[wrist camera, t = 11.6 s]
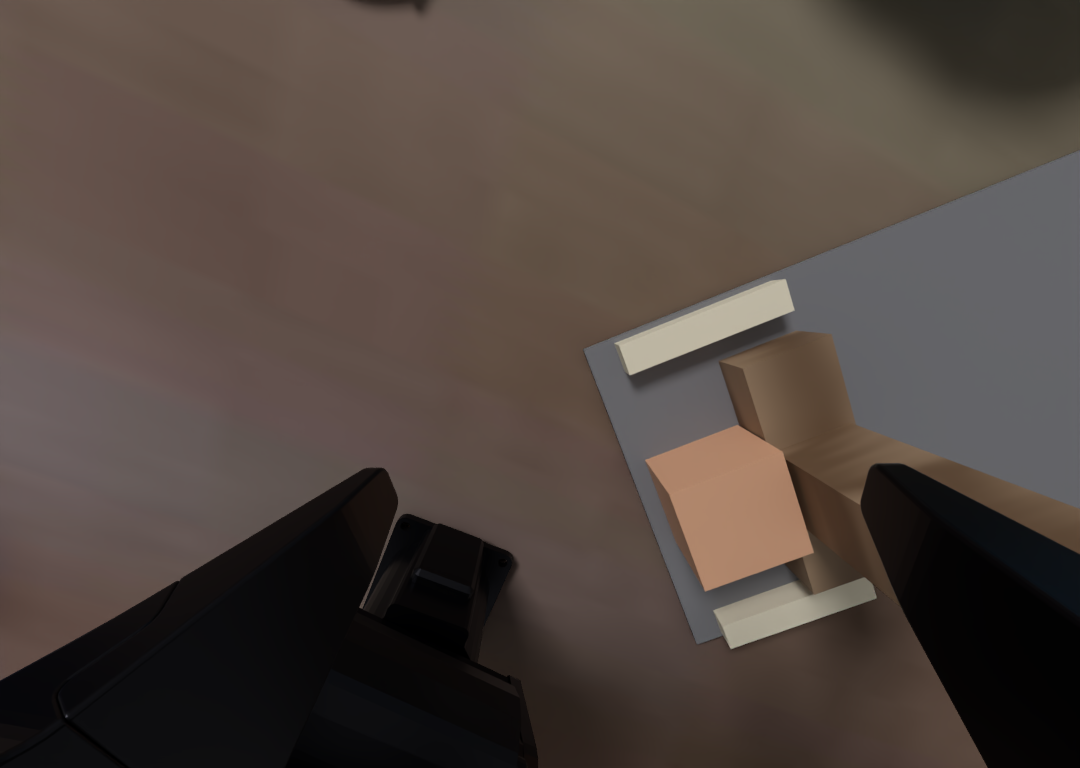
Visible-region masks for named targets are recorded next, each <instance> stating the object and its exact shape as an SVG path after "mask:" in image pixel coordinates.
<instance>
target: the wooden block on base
mask: <svg viewBox="0 0 1080 768" xmlns="http://www.w3.org/2000/svg"><path fill="white" fill-rule="evenodd" d="M719 365H720V368H721V371H722V374H723V377H724V380H725V383H726V386H727V389H728V392H729V395H730V398H731V401H732V404H733V407H734V411H735V414H736V417H737V420H738V423H739V426H740V427H742V428H744V429H745V430H747V431H749V432H750V433H752V434H754V435H755V436H757V437H759V438H760V439H762V440H764V441H765V442H767V443H769V444H771V445H772V446H774V447H776V448H777V449H779V450H781V451H782V452H783V454H784V458H785V461H786V464H787V467H788V471H789V474H790V477H791V480H792V483H793V487H794V490H795V493H796V496H797V500H798V503H799V506H800V509H801V513H802V516H803V519H804V522H805V525H806V529H807V532H808V535H809V538H810V542H811V545H812V548H813V551H814V553H812V554H809V555H806V556H803V557H801V558H798V559H795V560H792V561H789V562H787V563H784V564H785V565H786V566H787V567H788V568H789V569H790V570H791V571H792V572H793V573H794V574H795V575H796V576H797V577H798V578H799V580H800V581H801V582H802V583H803V584H804V585H805V586H806V587H807V588H808V589H809V590H810V591H811V592H812V593H813V594H814V595H815V594H818V593H821V592H824V591H827V590H829V589H832V588H835V587H838V586H841V585H844V584H847V583H849V582H852V581H855V580H858V579H861V578H864V577H865V578H866V579H867V580H869V581H870V582H871V583H872V584H873V585H875V586H876V587H877V588H878V589H879V590H881V591H882V592H883V593H884V594H885V595H887V596H888V597H889V598H890V599H891V600H893V601H894V602H895V603H896V604H897V605H899V606H900V604H899V602H898V600H897V598H896V595H895V593H894V591H893V589H892V586H891V584H890V581H889V579H888V577H887V574H886V572H885V569H884V567H883V564H882V562H881V559H880V557H879V555H878V552H877V550H876V547H875V545H874V542H873V540H872V537H871V535H870V533H869V530H868V528H867V525H866V523H865V520H864V518H863V515H862V512H861V507H860V501H861V496H862V492H863V489H864V485H865V481H866V477H867V473H868V470H869V468H870V467H871V466H872V465H873V464H876V463H902V464H905V465H907V466H909V467H911V468H913V469H915V470H917V471H919V472H921V473H923V474H925V475H927V476H929V477H931V478H933V479H935V480H936V481H938V482H940V483H942V484H944V485H946V486H948V487H950V488H952V489H954V490H956V491H958V492H960V493H962V494H964V495H966V496H968V497H970V498H972V499H974V500H975V501H977V502H979V503H981V504H983V505H985V506H987V507H989V508H991V509H993V510H995V511H997V512H999V513H1001V514H1003V515H1005V516H1007V517H1009V518H1011V519H1013V520H1014V521H1016V522H1018V523H1020V524H1022V525H1024V526H1026V527H1028V528H1030V529H1032V530H1034V531H1036V532H1038V533H1040V534H1042V535H1044V536H1046V537H1048V538H1050V539H1052V540H1053V541H1055V542H1057V543H1059V544H1061V545H1063V546H1065V547H1067V548H1069V549H1071V550H1073V551H1075V552H1077V553H1079V554H1080V509H1079V508H1076V507H1073V506H1071V505H1068V504H1065V503H1063V502H1060V501H1057V500H1055V499H1052V498H1049V497H1047V496H1044V495H1041V494H1039V493H1036V492H1033V491H1031V490H1028V489H1025V488H1023V487H1020V486H1017V485H1015V484H1012V483H1009V482H1007V481H1004V480H1001V479H999V478H996V477H993V476H991V475H988V474H986V473H983V472H980V471H978V470H975V469H972V468H970V467H967V466H964V465H962V464H959V463H956V462H954V461H951V460H948V459H946V458H943V457H940V456H938V455H935V454H932V453H930V452H927V451H924V450H922V449H919V448H916V447H914V446H911V445H908V444H906V443H903V442H900V441H898V440H895V439H892V438H890V437H887V436H884V435H882V434H879V433H876V432H874V431H871V430H868V429H866V428H863V427H860V426H858V425H856V422H855V419H854V415H853V411H852V408H851V404H850V400H849V397H848V393H847V389H846V386H845V382H844V378H843V375H842V371H841V367H840V364H839V360H838V356H837V352H836V349H835V345H834V341H833V338H832V334H826V333H816V332H806V331H794V332H791V333H789V334H786V335H784V336H781V337H779V338H776V339H773V340H771V341H768V342H766V343H763V344H761V345H758V346H756V347H753V348H750V349H748V350H745V351H743V352H740V353H738V354H735V355H733V356H730V357H727V358H725V359H722V360H720V361H719ZM900 607H901V606H900Z"/></svg>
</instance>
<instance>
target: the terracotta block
mask: <svg viewBox="0 0 1080 768" xmlns="http://www.w3.org/2000/svg"><path fill="white" fill-rule="evenodd" d="M645 461H646V464H647V467H648V469H649V472H650V475H651V477H652V480H653V483H654V485H655V488H656V491H657V493H658V496H659V499H660V501H661V504H662V507H663V509H664V512H665V515H666V517H667V520H668V523H669V525H670V528H671V531H672V533H673V536H674V539H675V541H676V543H677V545H678V547H679V548H680V550H681V552H682V553H683V555H684V557H685V558H686V560H687V562H688V563H689V565H690V567H691V569H692V570H693V572H694V574H695V575H696V577H697V579H698V580H699V582H700V584H701V585H702V587H703V589H704V591H705V592H706V591H708V590H711V589H714V588H717V587H720V586H722V585H725V584H728V583H731V582H734V581H736V580H739V579H742V578H745V577H748V576H750V575H753V574H756V573H759V572H762V571H764V570H767V569H770V568H773V567H775V566H778V565H781V564H784V563H787V562H789V561H792V560H795V559H798V558H801V557H803V556H806V555H809V554H812V553H814V551H813V548H812V545H811V542H810V538H809V535H808V532H807V529H806V525H805V522H804V519H803V516H802V513H801V509H800V506H799V503H798V500H797V496H796V493H795V490H794V487H793V483H792V480H791V477H790V474H789V471H788V467H787V464H786V461H785V458H784V454H783V452H782V451H781V450H779V449H777V448H776V447H774V446H772V445H771V444H769V443H767V442H765V441H764V440H762V439H760V438H759V437H757V436H755V435H754V434H752V433H750V432H749V431H747V430H745V429H744V428H742V427H740V426H739V425H736V426H733V427H730V428H728V429H725V430H723V431H720V432H717V433H715V434H712V435H709V436H707V437H704V438H702V439H699V440H696V441H694V442H691V443H688V444H686V445H683V446H681V447H678V448H675V449H673V450H670V451H667V452H665V453H662V454H660V455H657V456H654V457H652V458H649V459H646V460H645Z"/></svg>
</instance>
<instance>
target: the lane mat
mask: <svg viewBox="0 0 1080 768" xmlns="http://www.w3.org/2000/svg"><path fill="white" fill-rule="evenodd" d="M794 331H806V332H816V333H826V334H832V338H833V341H834V345H835V349H836V352H837V356H838V360H839V364H840V367H841V371H842V375H843V378H844V382H845V386H846V389H847V393H848V397H849V400H850V404H851V408H852V411H853V415H854V419H855V422H856V425H858V426H860V427H863V428H866V429H868V430H871V431H874V432H876V433H879V434H882V435H884V436H887V437H890V438H892V439H895V440H898V441H900V442H903V443H906V444H908V445H911V446H914V447H916V448H919V449H922V450H924V451H927V452H930V453H932V454H935V455H938V456H940V457H943V458H946V459H948V460H951V461H954V462H956V463H959V464H962V465H964V466H967V467H970V468H972V469H975V470H978V471H980V472H983V473H986V474H988V475H991V476H993V477H996V478H999V479H1001V480H1004V481H1007V482H1009V483H1012V484H1015V485H1017V486H1020V487H1023V488H1025V489H1028V490H1031V491H1033V492H1036V493H1039V494H1041V495H1044V496H1047V497H1049V498H1052V499H1055V500H1057V501H1060V502H1063V503H1065V504H1068V505H1071V506H1073V507H1076V508H1079V509H1080V150H1078V151H1076V152H1073V153H1071V154H1068V155H1066V156H1063V157H1061V158H1058V159H1056V160H1053V161H1051V162H1048V163H1046V164H1044V165H1041V166H1039V167H1036V168H1034V169H1031V170H1029V171H1026V172H1024V173H1021V174H1019V175H1016V176H1014V177H1011V178H1009V179H1006V180H1004V181H1001V182H999V183H996V184H994V185H991V186H989V187H986V188H984V189H981V190H979V191H976V192H974V193H971V194H969V195H966V196H964V197H961V198H959V199H956V200H954V201H951V202H949V203H946V204H944V205H941V206H939V207H936V208H934V209H931V210H929V211H926V212H924V213H921V214H919V215H916V216H914V217H911V218H909V219H906V220H904V221H901V222H899V223H896V224H894V225H891V226H889V227H886V228H884V229H881V230H879V231H877V232H874V233H872V234H869V235H867V236H864V237H862V238H859V239H857V240H854V241H852V242H849V243H847V244H844V245H842V246H839V247H837V248H834V249H832V250H829V251H827V252H824V253H822V254H819V255H817V256H814V257H812V258H809V259H807V260H804V261H802V262H799V263H797V264H794V265H792V266H789V267H787V268H784V269H782V270H779V271H777V272H774V273H772V274H769V275H767V276H764V277H762V278H759V279H757V280H754V281H752V282H749V283H747V284H744V285H742V286H739V287H737V288H734V289H732V290H729V291H727V292H724V293H722V294H719V295H717V296H714V297H712V298H709V299H707V300H705V301H702V302H700V303H697V304H695V305H692V306H690V307H687V308H685V309H682V310H680V311H677V312H675V313H672V314H670V315H667V316H665V317H662V318H660V319H657V320H655V321H652V322H650V323H647V324H645V325H642V326H640V327H637V328H635V329H632V330H630V331H627V332H625V333H622V334H620V335H617V336H615V337H612V338H610V339H607V340H605V341H602V342H600V343H597V344H595V345H592V346H590V347H587V348H585V349H583V351H584V353H585V356H586V359H587V361H588V364H589V366H590V369H591V372H592V374H593V377H594V379H595V382H596V385H597V387H598V390H599V392H600V395H601V398H602V400H603V403H604V405H605V408H606V410H607V413H608V416H609V418H610V421H611V423H612V426H613V429H614V431H615V434H616V436H617V439H618V442H619V444H620V447H621V449H622V452H623V455H624V457H625V460H626V462H627V465H628V468H629V470H630V473H631V475H632V478H633V481H634V483H635V486H636V488H637V491H638V494H639V496H640V499H641V501H642V504H643V507H644V509H645V512H646V514H647V517H648V520H649V522H650V525H651V527H652V530H653V533H654V535H655V538H656V540H657V543H658V545H659V548H660V551H661V553H662V556H663V558H664V561H665V564H666V566H667V569H668V571H669V574H670V577H671V579H672V582H673V584H674V587H675V590H676V592H677V595H678V597H679V600H680V603H681V605H682V608H683V610H684V613H685V616H686V618H687V621H688V623H689V626H690V629H691V631H692V634H693V636H694V639H695V641H696V643H697V644H700V643H703V642H706V641H709V640H711V639H714V638H717V637H720V636H724V638H725V640H726V642H727V643H728V645H729V647H730V649H733V648H736V647H739V646H741V645H744V644H747V643H750V642H753V641H756V640H759V639H761V638H764V637H767V636H770V635H773V634H776V633H779V632H782V631H784V630H787V629H790V628H793V627H796V626H799V625H802V624H805V623H807V622H810V621H813V620H816V619H819V618H822V617H825V616H828V615H830V614H833V613H836V612H839V611H842V610H845V609H848V608H851V607H853V606H856V605H859V604H862V603H865V602H868V601H871V600H874V599H876V598H877V597H876V594H875V590H874V587H873V584H872V583H871V582H870V581H869V580H867V579H866V578H865V577H864V578H861V579H858V580H855V581H852V582H849V583H847V584H844V585H841V586H838V587H835V588H832V589H829V590H827V591H824V592H821V593H818V594H815V595H814V594H813V593H812V592H811V591H810V590H809V589H808V588H807V587H806V586H805V585H804V584H803V583H802V582H801V581H800V580H799V578H798V577H797V576H796V575H795V574H794V573H793V572H792V571H791V570H790V569H789V568H788V567H787V566H786V565H785V564H781V565H778V566H775V567H773V568H770V569H767V570H764V571H762V572H759V573H756V574H753V575H750V576H748V577H745V578H742V579H739V580H736V581H734V582H731V583H728V584H725V585H722V586H720V587H717V588H714V589H711V590H708V591H706V592H705V591H704V589H703V587H702V585H701V584H700V582H699V580H698V579H697V577H696V575H695V574H694V572H693V570H692V569H691V567H690V565H689V563H688V562H687V560H686V558H685V557H684V555H683V553H682V552H681V550H680V548H679V547H678V545H677V543H676V541H675V539H674V536H673V533H672V531H671V528H670V525H669V523H668V520H667V517H666V515H665V512H664V509H663V507H662V504H661V501H660V499H659V496H658V493H657V491H656V488H655V485H654V483H653V480H652V477H651V475H650V472H649V469H648V467H647V464H646V461H645V460H646V459H649V458H652V457H654V456H657V455H660V454H662V453H665V452H667V451H670V450H673V449H675V448H678V447H681V446H683V445H686V444H688V443H691V442H694V441H696V440H699V439H702V438H704V437H707V436H709V435H712V434H715V433H717V432H720V431H723V430H725V429H728V428H730V427H733V426H736V425H739V423H738V420H737V417H736V414H735V411H734V407H733V404H732V401H731V398H730V395H729V392H728V389H727V386H726V383H725V380H724V377H723V374H722V371H721V368H720V365H719V361H720V360H722V359H725V358H727V357H730V356H733V355H735V354H738V353H740V352H743V351H745V350H748V349H750V348H753V347H756V346H758V345H761V344H763V343H766V342H768V341H771V340H773V339H776V338H779V337H781V336H784V335H786V334H789V333H791V332H794Z"/></svg>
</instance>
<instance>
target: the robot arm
mask: <svg viewBox="0 0 1080 768" xmlns="http://www.w3.org/2000/svg"><path fill="white" fill-rule="evenodd" d="M397 506H398V497H397V494H396V492H395V489H394V487H393V484H392V482H391V479H390V477H389V474H388V472H387V471H386V470H385V469H384V468H365V469H363V470H361V471H359V472H358V473H356V474H354V475H353V476H351V477H349V478H348V479H346V480H344V481H343V482H341V483H339V484H338V485H336V486H334V487H333V488H331V489H329V490H328V491H326V492H324V493H323V494H321V495H319V496H318V497H316V498H314V499H313V500H311V501H309V502H308V503H306V504H304V505H303V506H301V507H299V508H298V509H296V510H294V511H293V512H291V513H289V514H288V515H286V516H284V517H283V518H281V519H279V520H278V521H276V522H274V523H273V524H271V525H269V526H268V527H266V528H264V529H263V530H261V531H259V532H258V533H256V534H254V535H253V536H251V537H249V538H248V539H246V540H244V541H243V542H241V543H239V544H238V545H236V546H234V547H233V548H231V549H229V550H228V551H226V552H224V553H223V554H221V555H219V556H218V557H216V558H214V559H213V560H211V561H209V562H208V563H206V564H204V565H203V566H201V567H199V568H198V569H196V570H194V571H193V572H191V573H189V574H188V575H186V576H184V577H183V578H181V580H180V581H176V582H174V583H172V584H171V585H169V586H167V587H166V588H164V589H162V590H161V591H159V592H157V593H156V594H154V595H152V596H151V597H149V598H147V599H146V600H144V601H142V602H140V603H139V604H137V605H135V606H134V607H132V608H130V609H128V610H127V611H125V612H123V613H122V614H120V615H118V616H116V617H115V618H113V619H111V620H109V621H108V622H106V623H104V624H102V625H100V626H99V627H97V628H95V629H93V630H92V631H90V632H88V633H86V634H84V635H83V636H81V637H79V638H77V639H75V640H74V641H72V642H70V643H68V644H66V645H65V646H63V647H61V648H59V649H57V650H55V651H54V652H52V653H50V654H48V655H46V656H44V657H43V658H41V659H39V660H37V661H35V662H33V663H32V664H30V665H28V666H26V667H24V668H22V669H21V670H19V671H17V672H15V673H13V674H12V675H10V676H8V677H6V678H4V679H2V680H1V681H0V768H538V756H537V748H536V744H535V740H534V736H533V731H532V727H531V723H530V719H529V715H528V711H527V706H526V702H525V698H524V694H523V690H522V686H521V681H520V680H518V679H516V678H514V677H512V676H510V675H508V676H507V677H505V676H503V675H501V674H499V673H497V672H495V671H493V670H491V669H488V668H486V667H484V666H482V665H480V664H478V657H479V651H480V644H481V638H482V632H483V627H484V625H485V623H486V621H487V618H488V616H489V614H490V612H491V610H492V607H493V605H494V603H495V601H496V599H497V596H498V594H499V592H500V590H501V588H502V585H503V583H504V581H505V579H506V577H507V575H508V572H509V570H510V568H511V565H512V555H511V554H510V552H508V551H506V550H503V549H501V548H498V547H496V546H493V545H490V544H488V543H485V542H483V541H482V540H481V539H480V538H477V537H474V536H472V535H469V534H466V533H464V532H461V531H459V530H456V529H453V528H451V527H448V526H445V525H443V524H435V523H432V522H429V521H427V520H424V519H421V518H419V517H416V516H414V515H411V514H404V515H402V516H401V517H400V518H399V520H398V521H397V523H396V525H395V528H394V530H393V533H392V535H391V538H390V540H389V543H388V545H387V548H386V550H385V553H384V556H383V558H382V561H381V563H380V566H379V568H378V571H377V573H376V576H375V578H374V581H373V583H372V586H371V589H370V591H369V594H368V596H367V599H366V601H365V604H364V606H363V609H361V608H359V606H360V604H361V602H362V600H363V598H364V595H365V593H366V591H367V589H368V587H369V584H370V582H371V580H372V577H373V575H374V572H375V570H376V567H377V565H378V562H379V559H380V556H381V553H382V550H383V547H384V545H385V542H386V539H387V536H388V533H389V530H390V527H391V524H392V522H393V519H394V516H395V513H396V510H397ZM860 507H861V512H862V515H863V518H864V520H865V523H866V525H867V528H868V530H869V533H870V535H871V537H872V540H873V542H874V545H875V547H876V550H877V552H878V555H879V557H880V559H881V562H882V564H883V567H884V569H885V572H886V574H887V577H888V579H889V581H890V584H891V586H892V589H893V591H894V593H895V595H896V598H897V600H898V602H899V604H900V606H901V608H902V610H903V612H904V614H905V616H906V618H907V620H908V622H909V623H910V625H911V627H912V629H913V631H914V633H915V635H916V636H917V638H918V640H919V642H920V644H921V646H922V647H923V649H924V651H925V653H926V655H927V657H928V658H929V660H930V662H931V664H932V666H933V668H934V670H935V671H936V673H937V675H938V677H939V679H940V681H941V682H942V684H943V686H944V688H945V690H946V692H947V693H948V695H949V697H950V699H951V701H952V703H953V705H954V706H955V708H956V710H957V712H958V714H959V716H960V717H961V719H962V721H963V723H964V725H965V727H966V728H967V730H968V732H969V734H970V736H971V738H972V740H973V741H974V743H975V745H976V747H977V749H978V751H979V752H980V754H981V756H982V758H983V760H984V762H985V763H986V765H987V767H988V768H1080V554H1079V553H1077V552H1075V551H1073V550H1071V549H1069V548H1067V547H1065V546H1063V545H1061V544H1059V543H1057V542H1055V541H1053V540H1052V539H1050V538H1048V537H1046V536H1044V535H1042V534H1040V533H1038V532H1036V531H1034V530H1032V529H1030V528H1028V527H1026V526H1024V525H1022V524H1020V523H1018V522H1016V521H1014V520H1013V519H1011V518H1009V517H1007V516H1005V515H1003V514H1001V513H999V512H997V511H995V510H993V509H991V508H989V507H987V506H985V505H983V504H981V503H979V502H977V501H975V500H974V499H972V498H970V497H968V496H966V495H964V494H962V493H960V492H958V491H956V490H954V489H952V488H950V487H948V486H946V485H944V484H942V483H940V482H938V481H936V480H935V479H933V478H931V477H929V476H927V475H925V474H923V473H921V472H919V471H917V470H915V469H913V468H911V467H909V466H907V465H905V464H902V463H876V464H873V465H872V466H871V467H870V468H869V470H868V473H867V477H866V481H865V485H864V489H863V492H862V496H861V501H860ZM403 522H408V523H409V524H410V527H406V526H404V524H403ZM500 559H506V560H507V561H506V562H504V563H502V562H500V561H499V560H500Z"/></svg>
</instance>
